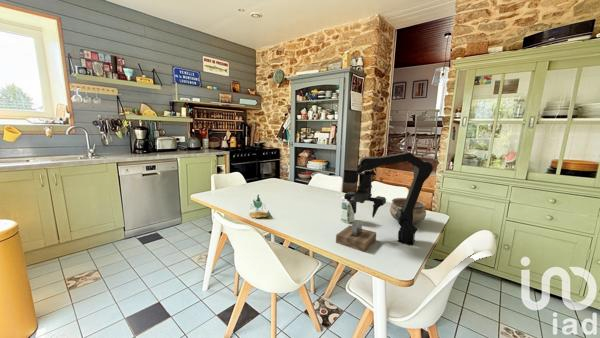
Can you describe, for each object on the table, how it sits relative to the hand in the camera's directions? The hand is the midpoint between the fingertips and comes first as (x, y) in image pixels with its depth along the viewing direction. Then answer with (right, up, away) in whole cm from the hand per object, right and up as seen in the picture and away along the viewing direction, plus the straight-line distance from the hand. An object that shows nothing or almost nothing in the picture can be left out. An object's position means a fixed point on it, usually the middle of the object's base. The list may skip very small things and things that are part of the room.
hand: (363, 215), depth 116 cm
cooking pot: (+30, -9, +22) cm, 39 cm away
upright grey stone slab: (-4, -11, -2) cm, 12 cm away
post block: (-4, -12, -2) cm, 13 cm away
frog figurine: (-56, -7, +30) cm, 64 cm away
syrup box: (-3, -8, +24) cm, 26 cm away
